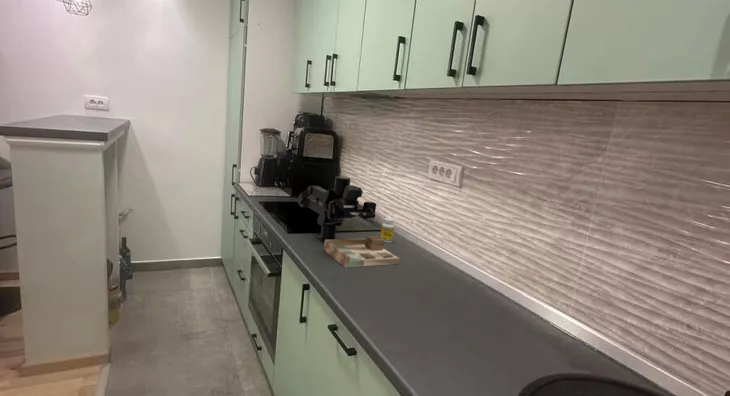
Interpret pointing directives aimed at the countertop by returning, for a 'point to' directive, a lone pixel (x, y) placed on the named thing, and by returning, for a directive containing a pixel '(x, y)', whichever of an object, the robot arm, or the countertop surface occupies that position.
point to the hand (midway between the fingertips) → (363, 216)
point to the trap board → (357, 253)
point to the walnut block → (374, 243)
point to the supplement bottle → (387, 230)
